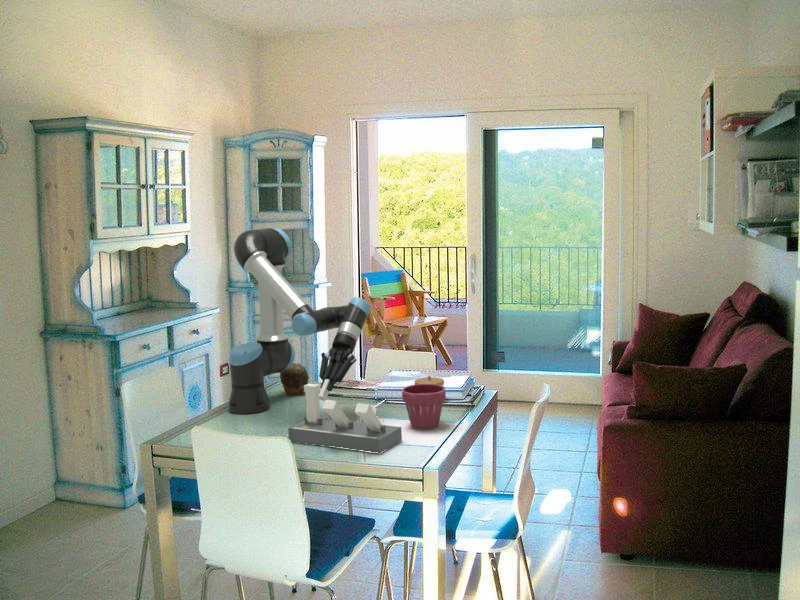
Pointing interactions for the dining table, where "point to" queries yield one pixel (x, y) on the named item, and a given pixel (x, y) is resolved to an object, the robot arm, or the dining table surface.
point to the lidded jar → (430, 381)
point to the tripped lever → (312, 402)
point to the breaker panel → (345, 435)
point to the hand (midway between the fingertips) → (321, 398)
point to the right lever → (368, 417)
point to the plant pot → (424, 404)
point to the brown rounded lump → (294, 379)
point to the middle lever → (336, 413)
